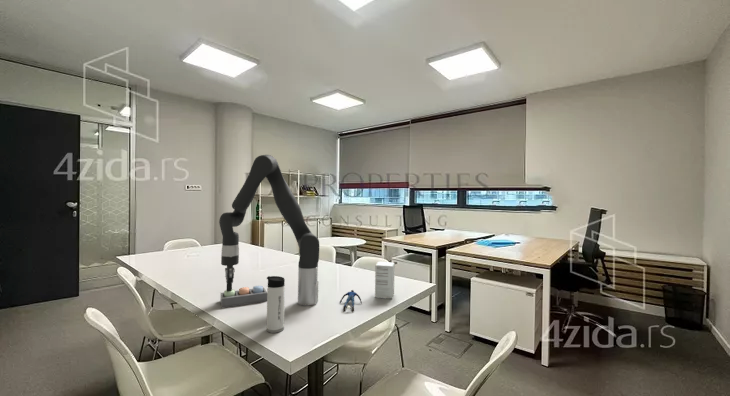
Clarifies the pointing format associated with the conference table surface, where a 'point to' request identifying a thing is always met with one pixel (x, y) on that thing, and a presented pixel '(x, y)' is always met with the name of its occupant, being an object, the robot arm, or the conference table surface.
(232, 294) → the sage button
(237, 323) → the conference table surface
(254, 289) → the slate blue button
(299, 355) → the conference table surface
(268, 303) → the travel mug
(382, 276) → the supplement box
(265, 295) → the tray
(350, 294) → the person figurine
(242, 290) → the orange button
